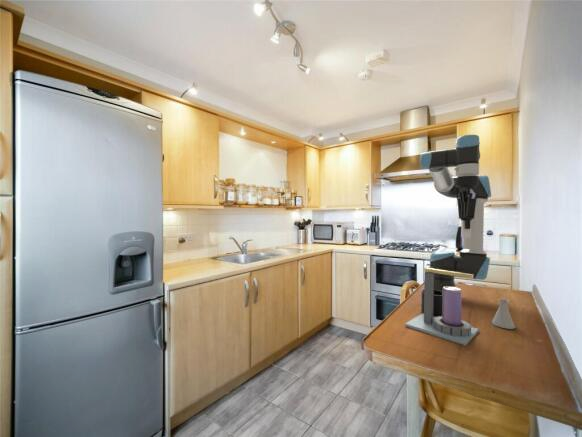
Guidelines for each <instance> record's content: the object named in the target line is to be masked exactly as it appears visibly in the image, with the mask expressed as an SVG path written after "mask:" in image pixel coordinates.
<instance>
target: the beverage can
mask: <svg viewBox="0 0 582 437" xmlns="http://www.w3.org/2000/svg"><path fill="white" fill-rule="evenodd" d="M462 298H463V297H462V289H461V288H459V287H457V286H456V287H452V286H444V287H443V290H442V323H444V324H446V325H449V326H455V327H461V320H462Z"/></svg>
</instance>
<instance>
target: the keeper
mask: <svg viewBox="0 0 582 437" xmlns="http://www.w3.org/2000/svg"><path fill="white" fill-rule="evenodd" d="M423 272H424V273H425V272H429V273H438V274H445V275H451V276H458V277H457V278H462V277H465V278H464V279H470V278H471V279H470V280H473V279H472V278H473V274H467V273H460V272H453V271H446V270H439V269H433V268H430V267H424V268H423Z"/></svg>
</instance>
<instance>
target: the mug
mask: <svg viewBox="0 0 582 437" xmlns="http://www.w3.org/2000/svg"><path fill="white" fill-rule="evenodd" d="M420 303H421V308H420V309H421V312H422V314H424V289H422V290H421V302H420ZM440 316H442V291H438V290H434V298H433V317H440Z"/></svg>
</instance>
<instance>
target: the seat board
mask: <svg viewBox="0 0 582 437" xmlns="http://www.w3.org/2000/svg"><path fill="white" fill-rule="evenodd" d="M423 285H424V286H423V288H424V289H423V290H424V313H421V314H419V315H418V316H415V317H414V318H412V319H410V320H409V321H407V322H405V323H404V326H405V327H406V328H408V329H413V330H416V331H419V332H422V333H426V334H428V335H431V336H434V337H437V338H441V339H444V340H446V341H447V340H448V341H451V342H454V343H457V344H460V345H463V346H467V345H468V344H469V343H470V342H471V341H472V340H473V339H474V337H475V336H476V335H477V334H478V332H479V328H476V327H473V326H472V325H471V324H470V323H469V322H467V321H465V320H463V319H461V327H455V326H449V325H446V324H444V323H442V316H433V298H434V273H429V272H424V284H423Z"/></svg>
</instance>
